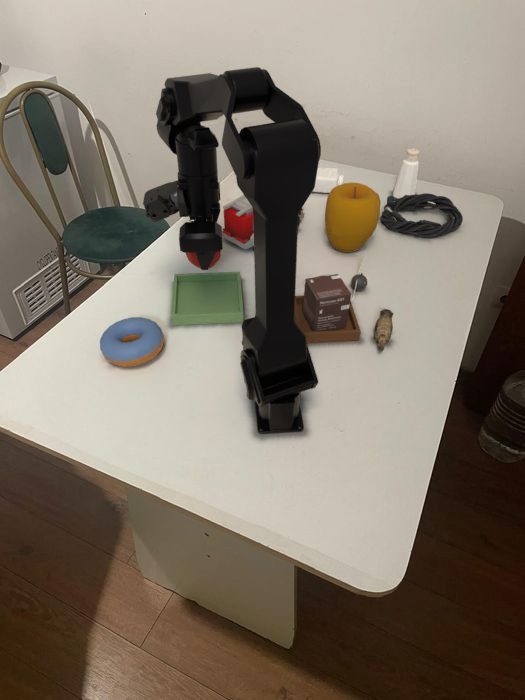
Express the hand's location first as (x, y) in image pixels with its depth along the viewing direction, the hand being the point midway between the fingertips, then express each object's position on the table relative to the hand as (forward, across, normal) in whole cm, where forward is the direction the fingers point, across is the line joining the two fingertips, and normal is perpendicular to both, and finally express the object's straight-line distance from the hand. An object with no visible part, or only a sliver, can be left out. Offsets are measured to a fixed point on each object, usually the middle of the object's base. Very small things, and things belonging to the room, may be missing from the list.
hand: (204, 259), depth 86 cm
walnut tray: (+9, +7, +20) cm, 23 cm away
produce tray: (+9, 0, 0) cm, 9 cm away
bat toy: (+10, -2, +28) cm, 30 cm away
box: (+9, +7, +20) cm, 23 cm away
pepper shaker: (+9, -38, +47) cm, 61 cm away
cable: (+10, -25, +47) cm, 54 cm away
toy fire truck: (+9, -23, +12) cm, 28 cm away
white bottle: (+9, -43, +26) cm, 51 cm away
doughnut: (+10, +12, -12) cm, 19 cm away
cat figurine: (+10, +12, +29) cm, 33 cm away
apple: (+10, -17, +29) cm, 35 cm away
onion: (+2, 0, 0) cm, 2 cm away
